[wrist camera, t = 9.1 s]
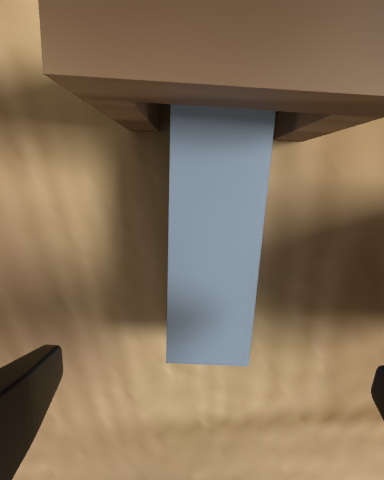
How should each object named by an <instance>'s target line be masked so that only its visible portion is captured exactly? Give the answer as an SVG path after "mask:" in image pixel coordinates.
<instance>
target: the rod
mask: <svg viewBox="0 0 384 480" xmlns="http://www.w3.org/2000/svg"><path fill="white" fill-rule="evenodd" d="M275 115H276V111H269V110H253V109H238V108H223V107H207V106H192V105H176V104H171V112H170V172H169V231H168V290H167V350H166V363H181V364H205V365H228V366H249V358H250V349H251V339H252V330H253V321H254V311H255V302H256V292H257V283H258V274H259V264H260V255H261V246H262V236H263V227H264V218H265V208H266V199H267V190H268V180H269V171H270V162H271V152H272V143H273V134H274V124H275Z"/></svg>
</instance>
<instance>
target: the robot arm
mask: <svg viewBox="0 0 384 480" xmlns="http://www.w3.org/2000/svg"><path fill="white" fill-rule="evenodd" d="M62 374H63V362H62V350H61V347H60V346H59V345H43V346H41V347H40V348H38V349H36V350H34V351H32V352H30V353H28V354H26V355H24V356H22V357H20V358H19V359H17V360H15V361H13V362H11V363H9V364H7V365H5V366H3V367H1V368H0V480H12V478H13V477H14V475H15V473H16V471H17V469H18V468H19V466H20V464H21V462H22V460H23V459H24V457H25V455H26V453H27V451H28V450H29V448H30V446H31V444H32V442H33V440H34V438H35V436H36V434H37V432H38V430H39V428H40V426H41V423H42V421H43V419H44V417H45V414H46V412H47V410H48V408H49V405H50V403H51V401H52V399H53V396H54V394H55V392H56V390H57V387H58V385H59V383H60V381H61V378H62ZM371 394H372V398H373V400H374V402H375V404H376V406H377V408H378V410H379V412H380V414H381V416H382V418H383V420H384V365H381V366H379V367H378V368H377V370H376V373H375V377H374V380H373V384H372V387H371Z"/></svg>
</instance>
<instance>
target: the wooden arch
mask: <svg viewBox="0 0 384 480" xmlns="http://www.w3.org/2000/svg"><path fill="white" fill-rule="evenodd" d="M38 1H39V16H40V31H41V45H42V60H43V74H45V75H46V76H48V77H49V78H51V79H52V80H54V81H55V82H57V83H58V84H60V85H61V86H63V87H64V88H66V89H68V90H69V91H71V92H72V93H74V94H75V95H77V96H78V97H80V98H81V99H83V100H84V101H86V102H87V103H89V104H90V105H92V106H93V107H95V108H96V109H98V110H100V111H101V112H103V113H104V114H106V115H107V116H109V117H110V118H112V119H113V120H115V121H116V122H118V123H119V124H121V125H122V126H124V127H125V128H127V129H129V130H134V131H149V132H159V103H161V104H176V105H192V106H207V107H223V108H238V109H253V110H269V111H278V112H277V120H276V127H275V135H274V140H288V141H306V140H309V139H313V138H316V137H319V136H323V135H326V134H329V133H333V132H336V131H339V130H343V129H346V128H349V127H353V126H356V125H360V124H363V123H366V122H370V121H373V120H376V119H380V118H383V117H384V0H38Z"/></svg>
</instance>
